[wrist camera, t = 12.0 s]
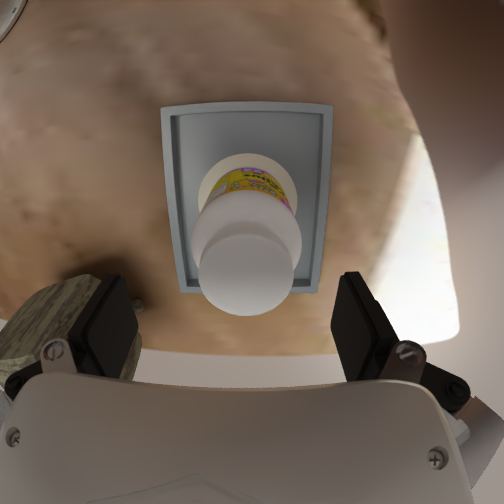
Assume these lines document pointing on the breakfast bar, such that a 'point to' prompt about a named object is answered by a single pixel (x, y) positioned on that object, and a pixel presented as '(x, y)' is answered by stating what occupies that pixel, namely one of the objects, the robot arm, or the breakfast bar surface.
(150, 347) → the breakfast bar surface
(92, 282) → the tabletop clock
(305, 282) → the tray
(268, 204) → the supplement bottle
